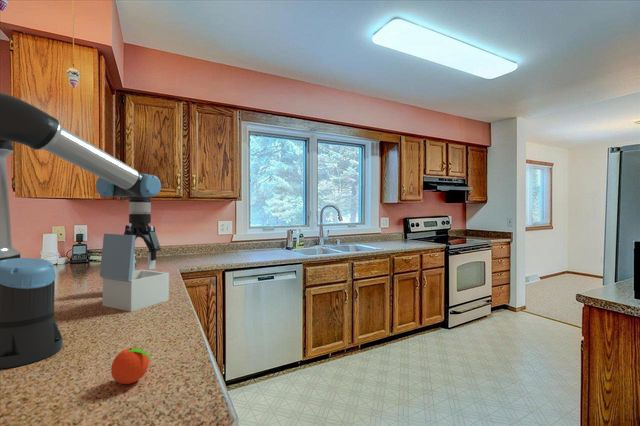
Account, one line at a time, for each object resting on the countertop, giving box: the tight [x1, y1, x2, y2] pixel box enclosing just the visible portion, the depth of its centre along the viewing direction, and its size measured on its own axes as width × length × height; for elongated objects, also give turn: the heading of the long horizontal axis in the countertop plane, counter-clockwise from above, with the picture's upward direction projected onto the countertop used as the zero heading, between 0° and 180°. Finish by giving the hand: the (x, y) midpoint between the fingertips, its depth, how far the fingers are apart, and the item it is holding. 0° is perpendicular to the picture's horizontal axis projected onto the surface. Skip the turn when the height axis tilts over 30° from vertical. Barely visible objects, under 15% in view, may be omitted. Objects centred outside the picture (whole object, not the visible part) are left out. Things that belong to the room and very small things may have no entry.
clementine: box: [110, 347, 152, 385], centre depth 67 cm, size 8×7×7 cm
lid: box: [99, 233, 136, 282], centre depth 117 cm, size 17×16×1 cm
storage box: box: [102, 269, 170, 312], centre depth 124 cm, size 16×16×11 cm
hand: (139, 267), depth 125 cm, fingers open, 13 cm apart
